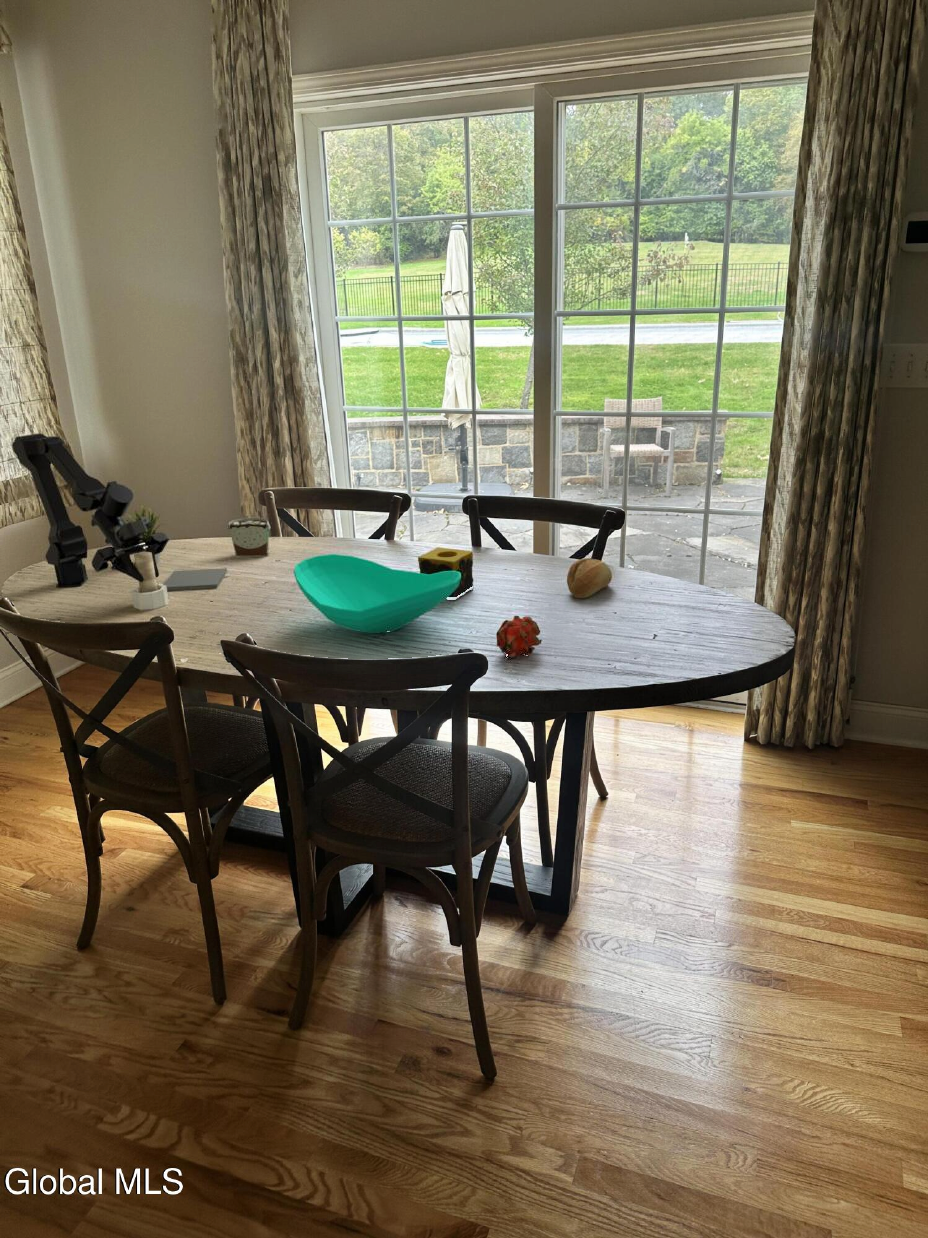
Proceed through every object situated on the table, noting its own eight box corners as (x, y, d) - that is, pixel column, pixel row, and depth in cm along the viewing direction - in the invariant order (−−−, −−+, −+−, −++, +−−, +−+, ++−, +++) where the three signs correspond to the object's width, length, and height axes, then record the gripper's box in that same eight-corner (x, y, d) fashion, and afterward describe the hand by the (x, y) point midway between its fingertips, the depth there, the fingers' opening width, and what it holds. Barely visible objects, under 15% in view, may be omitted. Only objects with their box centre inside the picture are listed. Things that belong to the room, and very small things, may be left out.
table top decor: (269, 634, 187) (262, 576, 183) (346, 596, 210) (341, 543, 205) (421, 666, 168) (418, 602, 164) (488, 620, 190) (487, 563, 186)
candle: (418, 596, 208) (416, 557, 204) (438, 584, 216) (436, 546, 212) (455, 602, 203) (453, 561, 200) (474, 589, 211) (473, 550, 208)
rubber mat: (161, 591, 218) (161, 587, 218) (174, 574, 231) (174, 570, 231) (217, 587, 219) (216, 584, 219) (227, 571, 232) (226, 568, 232)
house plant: (120, 558, 248) (110, 502, 242) (170, 551, 253) (161, 496, 248) (124, 571, 236) (114, 513, 230) (176, 563, 241) (167, 506, 235)
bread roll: (557, 598, 203) (557, 566, 200) (581, 580, 215) (582, 550, 212) (595, 604, 199) (596, 571, 196) (618, 585, 211) (619, 554, 208)
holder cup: (131, 610, 205) (128, 594, 204) (139, 599, 212) (137, 584, 211) (163, 608, 205) (160, 592, 204) (171, 598, 213) (168, 582, 211)
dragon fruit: (534, 650, 178) (510, 680, 169) (503, 624, 179) (477, 652, 169) (555, 624, 172) (532, 654, 163) (522, 598, 173) (497, 626, 164)
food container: (279, 550, 250) (275, 516, 247) (272, 556, 245) (268, 522, 241) (238, 550, 252) (234, 517, 248) (231, 556, 246) (226, 522, 242)
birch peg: (140, 606, 207) (131, 557, 202) (145, 601, 210) (136, 552, 206) (157, 605, 207) (149, 556, 203) (161, 600, 211) (153, 551, 206)
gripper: (89, 516, 195) (127, 569, 193) (158, 500, 210) (193, 549, 208) (76, 545, 203) (112, 596, 200) (143, 527, 217) (177, 575, 215)
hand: (150, 578), depth 206 cm, fingers closed on birch peg, 4 cm apart
